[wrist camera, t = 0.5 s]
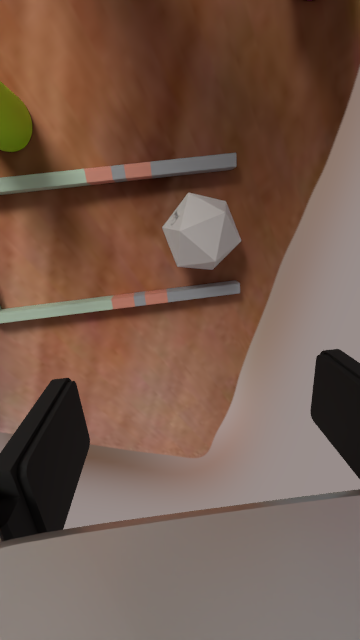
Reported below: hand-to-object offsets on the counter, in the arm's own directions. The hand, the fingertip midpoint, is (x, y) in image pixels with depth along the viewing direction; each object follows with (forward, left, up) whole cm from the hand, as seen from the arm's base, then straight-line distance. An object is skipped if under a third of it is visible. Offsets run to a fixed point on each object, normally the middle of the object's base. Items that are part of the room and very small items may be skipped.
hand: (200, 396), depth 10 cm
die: (-5, +4, -28) cm, 29 cm away
